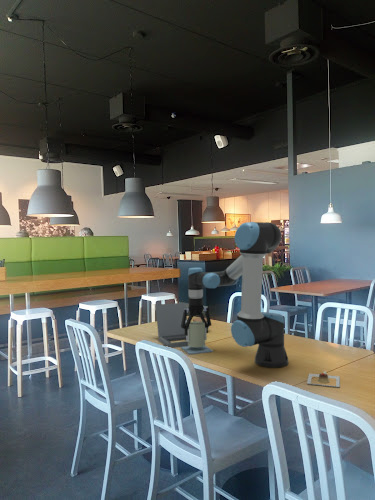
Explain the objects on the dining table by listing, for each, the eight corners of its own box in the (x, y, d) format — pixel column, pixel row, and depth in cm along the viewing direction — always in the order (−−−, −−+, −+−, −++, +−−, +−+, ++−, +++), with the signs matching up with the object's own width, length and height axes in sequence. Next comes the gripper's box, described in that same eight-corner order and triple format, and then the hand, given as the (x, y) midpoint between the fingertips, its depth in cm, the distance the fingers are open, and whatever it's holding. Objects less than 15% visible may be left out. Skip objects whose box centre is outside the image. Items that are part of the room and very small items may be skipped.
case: (199, 344, 219) (198, 308, 218) (167, 348, 213) (167, 310, 212) (185, 335, 240) (184, 302, 240) (156, 338, 234) (155, 304, 234)
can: (203, 347, 203) (203, 324, 203) (186, 347, 205) (185, 323, 205) (206, 343, 212) (206, 320, 212) (189, 342, 214) (189, 320, 214)
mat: (213, 351, 205) (213, 350, 205) (189, 354, 200) (189, 353, 200) (203, 345, 217) (203, 344, 217) (180, 348, 212) (180, 347, 212)
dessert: (306, 386, 156) (306, 374, 156) (309, 376, 168) (308, 364, 167) (339, 389, 152) (339, 377, 152) (339, 379, 163) (339, 367, 163)
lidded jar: (213, 330, 252) (213, 315, 252) (204, 334, 243) (204, 318, 243) (198, 328, 258) (198, 314, 258) (189, 332, 249) (189, 317, 248)
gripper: (212, 295, 215) (212, 336, 216) (173, 297, 208) (174, 340, 208) (217, 297, 208) (218, 340, 208) (178, 299, 201) (179, 344, 201)
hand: (196, 340), depth 208 cm, fingers closed on can, 9 cm apart
